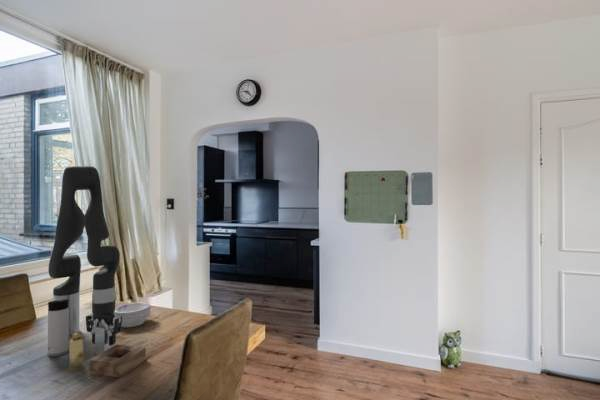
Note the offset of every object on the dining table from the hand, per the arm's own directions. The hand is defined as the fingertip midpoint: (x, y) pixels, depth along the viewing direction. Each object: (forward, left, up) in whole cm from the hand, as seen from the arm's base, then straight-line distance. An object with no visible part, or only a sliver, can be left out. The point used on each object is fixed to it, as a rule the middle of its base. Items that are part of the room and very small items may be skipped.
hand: (103, 343), depth 125 cm
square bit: (0, 0, -3) cm, 3 cm away
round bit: (0, -12, -3) cm, 12 cm away
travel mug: (-16, -4, -3) cm, 17 cm away
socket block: (+13, -8, -3) cm, 16 cm away
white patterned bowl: (-9, +27, -3) cm, 29 cm away
